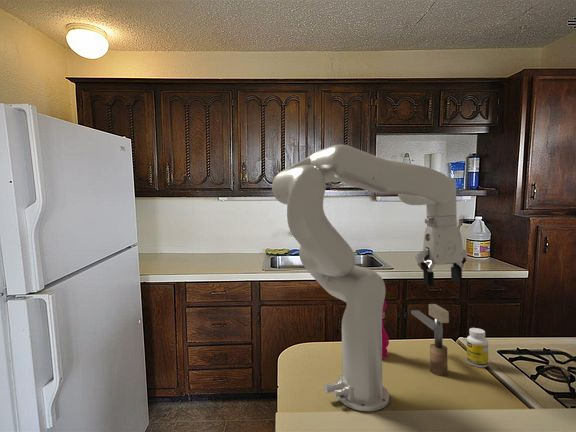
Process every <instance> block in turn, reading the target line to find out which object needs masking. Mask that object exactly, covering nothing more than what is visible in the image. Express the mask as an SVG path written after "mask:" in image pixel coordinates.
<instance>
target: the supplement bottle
mask: <svg viewBox="0 0 576 432" xmlns="http://www.w3.org/2000/svg"><path fill="white" fill-rule="evenodd" d="M468 332H469V335H468V336H466V337H467V338H466V361H467V363H468V364H469V365H470V366H474V367H476V368H487V367H488V366H489V340H488V339H487V338H486V331H485V330H484V329H482V328H478V327H477V328H476V327H471V328H470V327H469V331H468Z"/></svg>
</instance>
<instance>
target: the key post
mask: <svg viewBox="0 0 576 432" xmlns="http://www.w3.org/2000/svg"><path fill="white" fill-rule="evenodd" d="M448 363H449V362H448V347H447V346H446V345H444V344H443V347H436V346H435V343H430V345H429V367H430V368H429V370H430V373H431V374H434V375H435V376H439V377H445V376H447V375H448V373H449V371H448V369H449V368H448V366H449V365H448Z"/></svg>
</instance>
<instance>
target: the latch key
mask: <svg viewBox="0 0 576 432" xmlns="http://www.w3.org/2000/svg"><path fill="white" fill-rule="evenodd" d="M449 312H450V311H448V310H446V309H445V308H444V307H441V306H440V305H438V304H437V303H429V304H428V315H429V316H430V317H431V318H433V319H434V320H433V319H431V318H430V317H428V316H427V315H426V314H424V313H423V312H421V311H420V310H418V309H417V310H414V309H413V310H412V309H411V310H410V314H411V315H412V316H413V317H414V318H417V319H418V320H419V321H421V323H422V324H424V325H425V326H427V327H428V328H429V329H431V330H432V331H434V344H435V346H436V347H443V345H444V343H443V330H444V329H443V324H448V323H449V322H450V318H449V317H450V314H449Z"/></svg>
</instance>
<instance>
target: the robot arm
mask: <svg viewBox="0 0 576 432" xmlns="http://www.w3.org/2000/svg"><path fill="white" fill-rule="evenodd" d="M273 178H274V179H273V181H272V185H271V192H272V195H273V196H274V198H275V200H277V201H278V202H279V203H281V204H283V205H286V206H287V207H286V217H287V218H286V219H287V221H286V222H287V225H288V228H289V231H290V233H291V235H292V236H293V238H294V239H295V240H296V241H297V242H298V244H299V245H300V246H299V250H298V251H299V252H298V254H299V255H298V256H299V258H300V262H301V265H302V266H303V267H304V269H305V270H306V271H307V273H308V274H310V275H311V277H313V279H314V280H315V281H316V282H317V284H319V285H320V286H321V287H322V288H323V290H325V291H326V292H327V293H328V294H329V295H331V296H332V297H335V298H336V299H339V300H340V301H342V302H344V303H346V306H345V309H344V312H343V315H342V319H341V358H342V359H341V360H342V374H341V375H338V380H336V381H335V382H332V383H331V382H330V383H325V384H324V385H323V390H324V391H325V393H326V394H330V393H333V396H334V397H335V398H338V401H340V402H341V403H342V404H343V405H344V406H346V407H348V408H349V409H352V410H354V411H355V410H356V411H360V412H375V411H380V410H381V409H384V408H385V407H387V405H388V404H389V403H390V391H388V389H387V388H386V387H385V386H384V385H383V359H382V309H383V304H384V300H385V297H386V285H385V284H386V283H385V281H384V279H383V278H382V276H381V275H380V274H379V273H378V272H376V271H374V270H373V269H371V268H367V267H363V266H360V265H356V255H355V253H354V250H353V249H352V247H351V246H350V244H349V243H348V242H347V240H345V239H344V238H343V236H342V235H341V234H340V233H339V232H338V231H337V229H336V228H335V227H334V226H333V224H332V223H331V222H330V219H328V217H327V216H326V213H325V211H324V198H325V193H326V189H327V188H326V186H327V185H326V184H328V183H333V182H340V183H343V184H347V185H349V186H353V187H355V188H359V189H362V190H365V191H367V192H368V191H369V192H371V193H376V194H383V195H397V196H398V198H399V200H400V201H401V202H403V203H404V204H406V205H409V206H425V205H426V218H425V219H424V223H425V225H426V227H425V230H424V236H423V245H422V246H423V248H422V249H423V250H422V251H420V252H419V253H418V254H416V255H415V257H414V258H415V260H416V262H417V265H418V267H420V270H421V271H423V272H422V273H423V284H424V285H425V286H429V287H434V285H435V279H434V278H435V276H434V273H435V272H434V271H433V269H434V267H435V266H436V265H437V266H441V265H452V266H451V267H450V279H451V281H452V282H455V283H462V282H463V269H464V267H465V263H466V261H467V258H468V254H469V251H468V250H466V249H464V248H463V247H464V246H463V239H462V234H461V230H460V227H459V226H458V218H457V214H458V213H457V212H458V211H457V182H456V179H455V178H454V177H451V176H450V177H449V176H447V175H446V174H444V173H443V172H441V171H438V170H436V169H432V168H431V167H427V166H423V165H419V164H413V163H407V162H401V161H395V160H387V159H384V158H382V157H380V156H376V155H374V154H371V153H370V152H369V153H368V152H366V151H364V150H361V149H358V148H356V147H353V146H351V145H348V144H334V145H331V146H329V147H328V146H327V147H325V148H323V149H320V150H318V151H316V152H314V153H312V154H311V155H309V156H307V157H305V158H304V159H302V160H300V161H297V162H296V163H294V164H293V165H290V166H289V167H287V168H285V169H283V170H282V171H279V172H278V173H277V175H275V177H273Z"/></svg>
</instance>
